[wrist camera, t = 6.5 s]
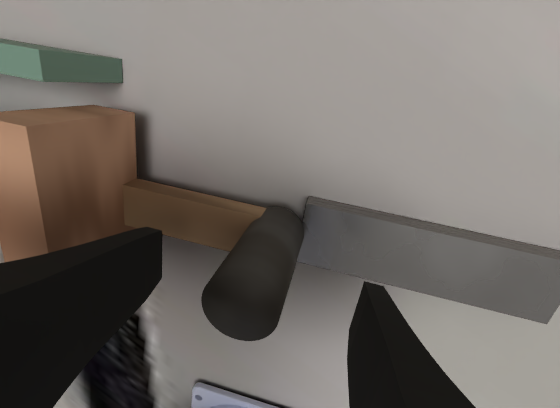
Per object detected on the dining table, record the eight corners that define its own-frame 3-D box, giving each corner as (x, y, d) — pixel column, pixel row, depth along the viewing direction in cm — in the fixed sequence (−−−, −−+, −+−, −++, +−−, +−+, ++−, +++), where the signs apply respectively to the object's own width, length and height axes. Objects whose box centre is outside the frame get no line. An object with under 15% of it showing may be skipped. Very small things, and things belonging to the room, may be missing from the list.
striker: (289, 307, 15) (261, 409, 10) (106, 257, 16) (8, 327, 12) (322, 149, 12) (304, 191, 7) (93, 104, 13) (-48, 115, 9)
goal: (132, 276, 18) (78, 323, 15) (7, 241, 20) (-72, 276, 16) (121, 59, 14) (38, 49, 10) (-42, 31, 15) (-170, 13, 11)
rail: (533, 308, 14) (546, 324, 13) (298, 250, 15) (294, 260, 14) (568, 252, 13) (585, 265, 12) (309, 195, 14) (306, 203, 13)
